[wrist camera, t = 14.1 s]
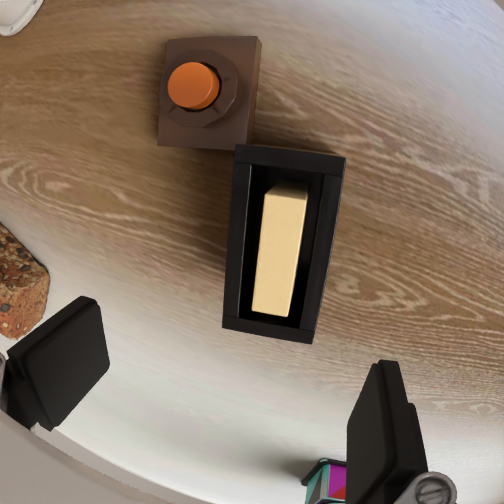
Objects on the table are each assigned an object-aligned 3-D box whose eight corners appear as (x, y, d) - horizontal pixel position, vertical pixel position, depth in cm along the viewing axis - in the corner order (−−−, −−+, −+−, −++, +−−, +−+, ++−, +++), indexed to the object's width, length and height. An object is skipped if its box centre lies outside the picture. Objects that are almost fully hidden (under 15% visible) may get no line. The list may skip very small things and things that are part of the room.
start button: (179, 67, 22) (169, 63, 20) (221, 66, 21) (214, 61, 20) (175, 109, 23) (165, 107, 22) (217, 109, 23) (209, 107, 21)
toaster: (258, 143, 26) (234, 143, 19) (338, 154, 25) (346, 157, 18) (244, 285, 31) (221, 328, 24) (315, 297, 30) (312, 344, 23)
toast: (280, 179, 26) (264, 193, 19) (310, 183, 26) (306, 199, 18) (269, 267, 29) (251, 310, 22) (296, 272, 29) (287, 317, 21)
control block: (177, 45, 24) (158, 34, 21) (262, 43, 23) (252, 28, 19) (168, 145, 28) (146, 146, 24) (251, 151, 27) (240, 152, 23)
